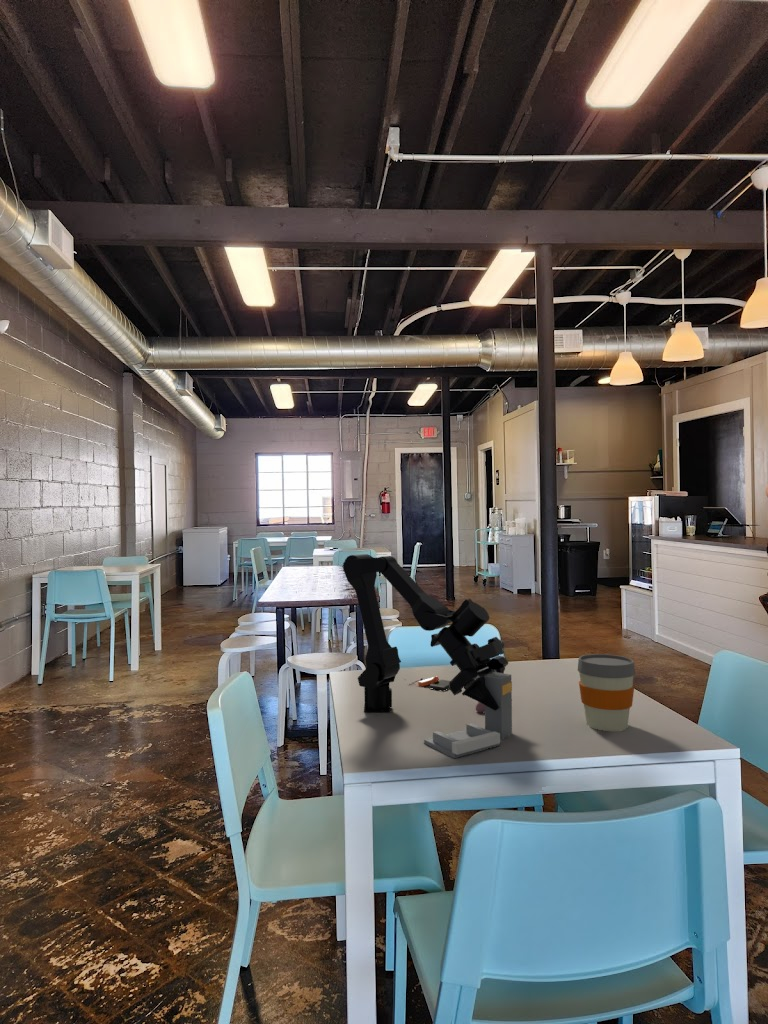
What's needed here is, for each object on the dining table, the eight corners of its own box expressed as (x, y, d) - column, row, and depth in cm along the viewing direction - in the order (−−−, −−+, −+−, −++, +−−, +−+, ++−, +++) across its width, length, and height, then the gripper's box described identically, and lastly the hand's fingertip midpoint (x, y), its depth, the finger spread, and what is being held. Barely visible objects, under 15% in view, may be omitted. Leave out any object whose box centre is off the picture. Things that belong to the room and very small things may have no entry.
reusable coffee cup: (645, 724, 143) (644, 659, 144) (621, 738, 134) (620, 668, 135) (593, 713, 152) (592, 651, 153) (568, 725, 143) (567, 659, 144)
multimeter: (382, 686, 180) (382, 674, 180) (406, 678, 190) (405, 666, 190) (435, 697, 169) (435, 684, 170) (457, 687, 179) (457, 675, 179)
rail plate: (424, 743, 132) (424, 730, 132) (467, 732, 139) (467, 720, 139) (456, 759, 123) (456, 744, 123) (500, 746, 130) (500, 733, 130)
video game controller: (490, 720, 152) (503, 695, 152) (473, 711, 153) (486, 686, 153) (491, 708, 162) (503, 684, 162) (475, 699, 163) (487, 676, 162)
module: (485, 736, 137) (484, 676, 137) (495, 729, 141) (494, 672, 141) (502, 740, 134) (502, 679, 134) (513, 733, 138) (512, 674, 138)
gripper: (460, 633, 133) (508, 693, 126) (500, 621, 148) (545, 674, 141) (429, 665, 137) (474, 725, 130) (471, 650, 152) (513, 704, 145)
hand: (504, 705), depth 137 cm, fingers open, 6 cm apart
